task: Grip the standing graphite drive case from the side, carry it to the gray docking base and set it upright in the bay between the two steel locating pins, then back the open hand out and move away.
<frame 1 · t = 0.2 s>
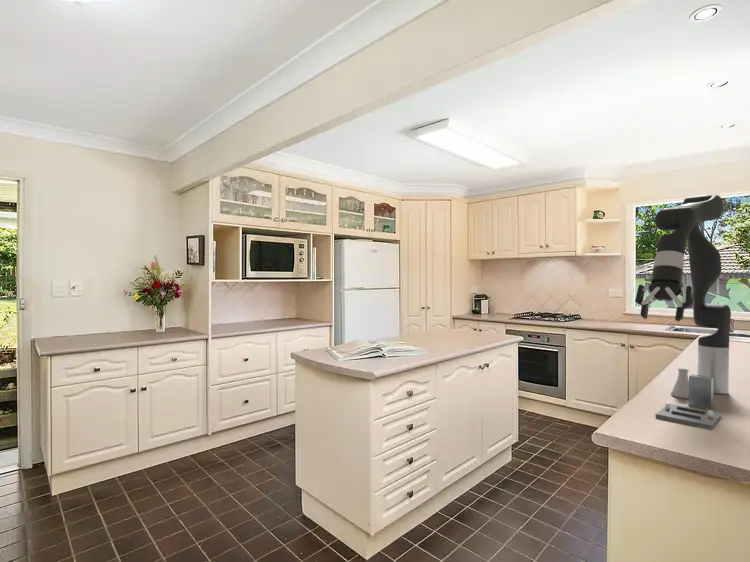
hand: (660, 319, 127), 31 cm above the table, tool tilted 20°, fingers open, 8 cm apart
drive: (700, 406, 142), on the table
flask: (682, 397, 154), on the table
gray docking base: (688, 417, 131), on the table
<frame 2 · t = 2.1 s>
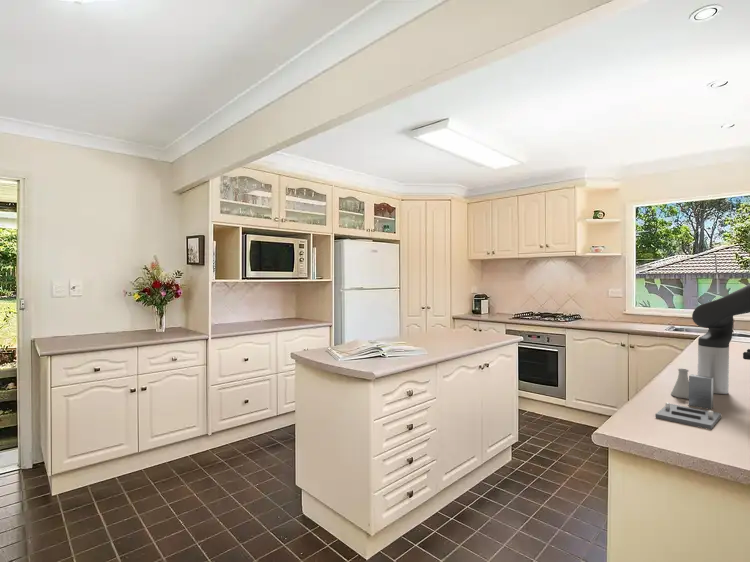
hand: (745, 353, 134), 19 cm above the table, tool horizontal, fingers open, 8 cm apart
nothing on the table moved.
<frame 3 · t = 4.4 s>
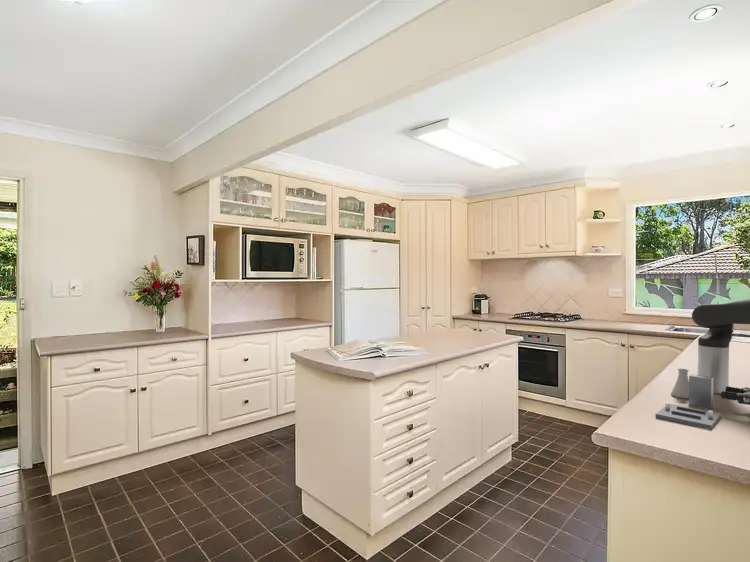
hand: (723, 391, 138), 6 cm above the table, tool horizontal, fingers open, 8 cm apart
nothing on the table moved.
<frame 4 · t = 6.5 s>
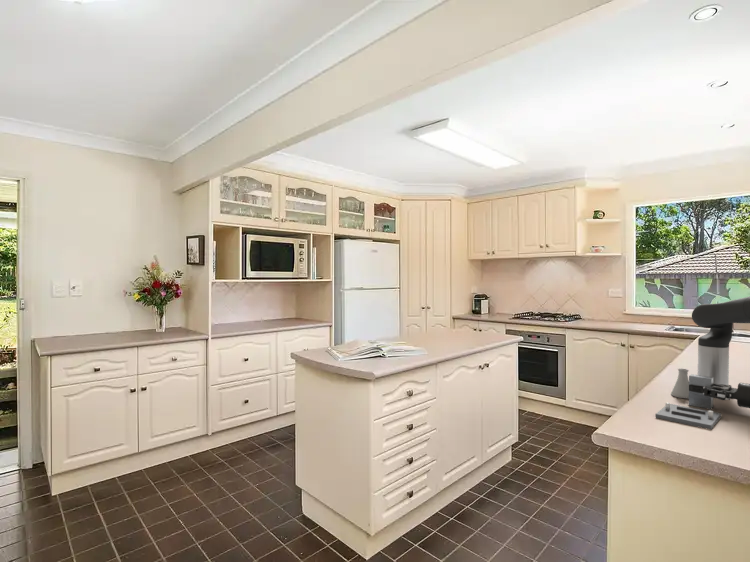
hand: (690, 386, 144), 6 cm above the table, tool horizontal, fingers closed on drive, 3 cm apart
drive: (700, 406, 142), on the table, touching gripper
everything else where it was.
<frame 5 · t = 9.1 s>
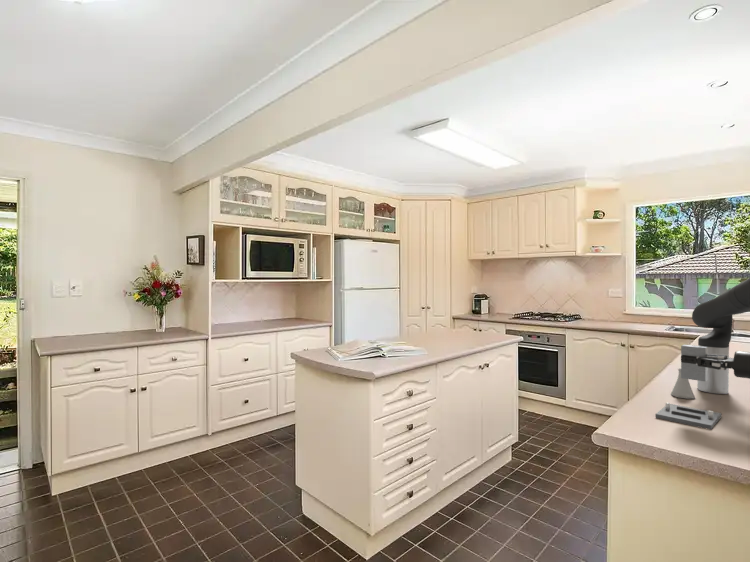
hand: (683, 357, 132), 18 cm above the table, tool horizontal, fingers closed on drive, 3 cm apart
drive: (694, 378, 130), point 12 cm above the table, touching gripper
everything else where it was.
when the fingers open (8 cm above the table, at t = 11.8 s): drive drops 1 cm, resting on gray docking base.
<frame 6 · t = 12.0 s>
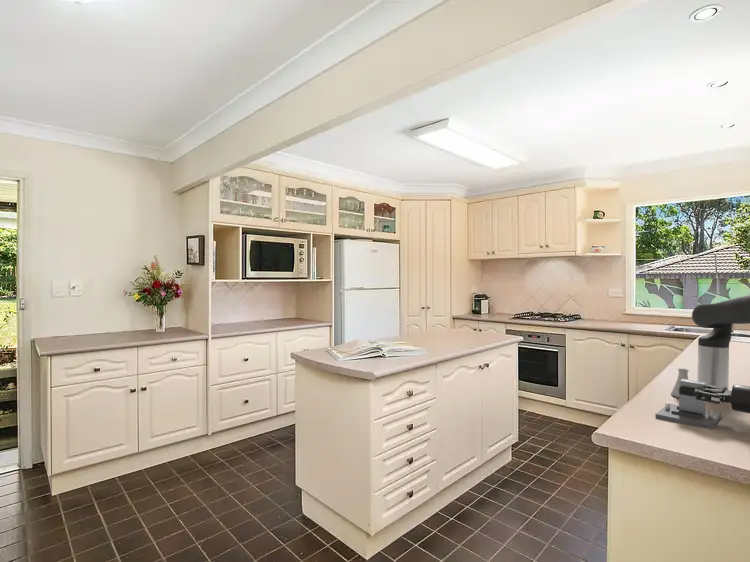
hand: (681, 388, 132), 8 cm above the table, tool horizontal, fingers open, 5 cm apart
drive: (691, 414, 130), point 1 cm above the table, touching gray docking base
everything else where it was.
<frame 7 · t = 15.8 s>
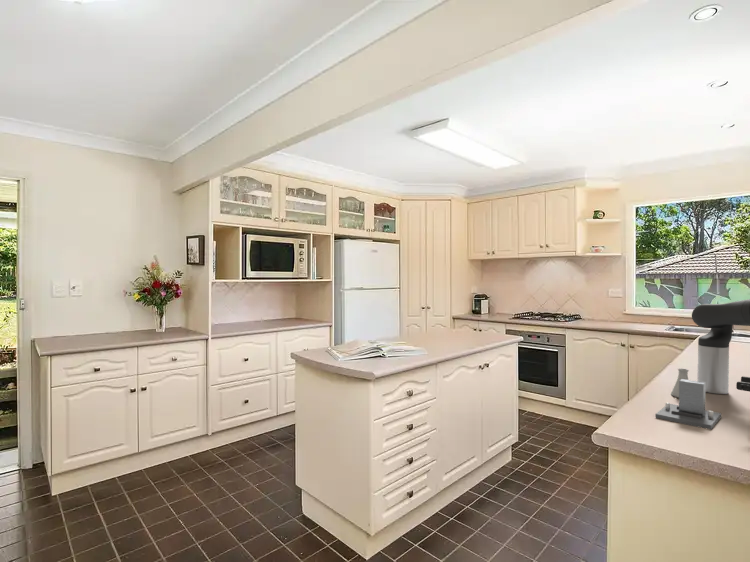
hand: (738, 382, 122), 13 cm above the table, tool horizontal, fingers open, 8 cm apart
nothing on the table moved.
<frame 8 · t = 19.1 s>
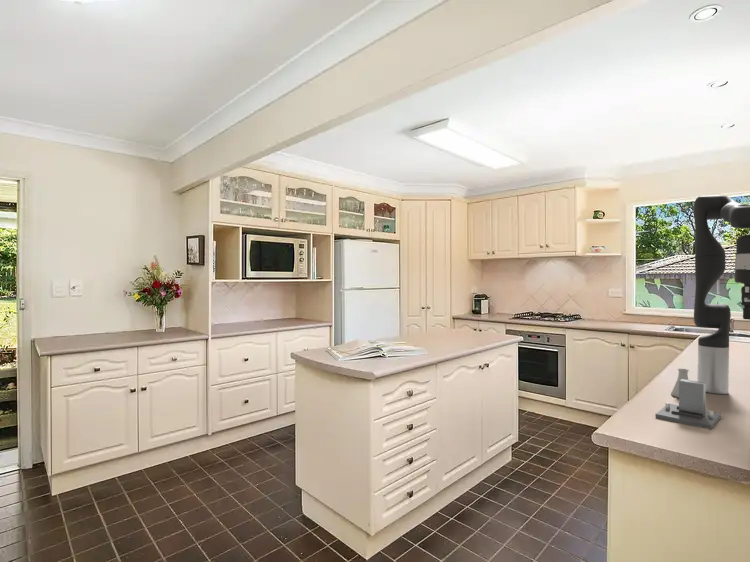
hand: (749, 318, 137), 30 cm above the table, tool pointing down, fingers open, 8 cm apart
nothing on the table moved.
at the end: drive 0.8 cm off-centre on the gray docking base, point 1.2 cm above the gray docking base's base; drive tilted 0°; the gripper is holding nothing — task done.
